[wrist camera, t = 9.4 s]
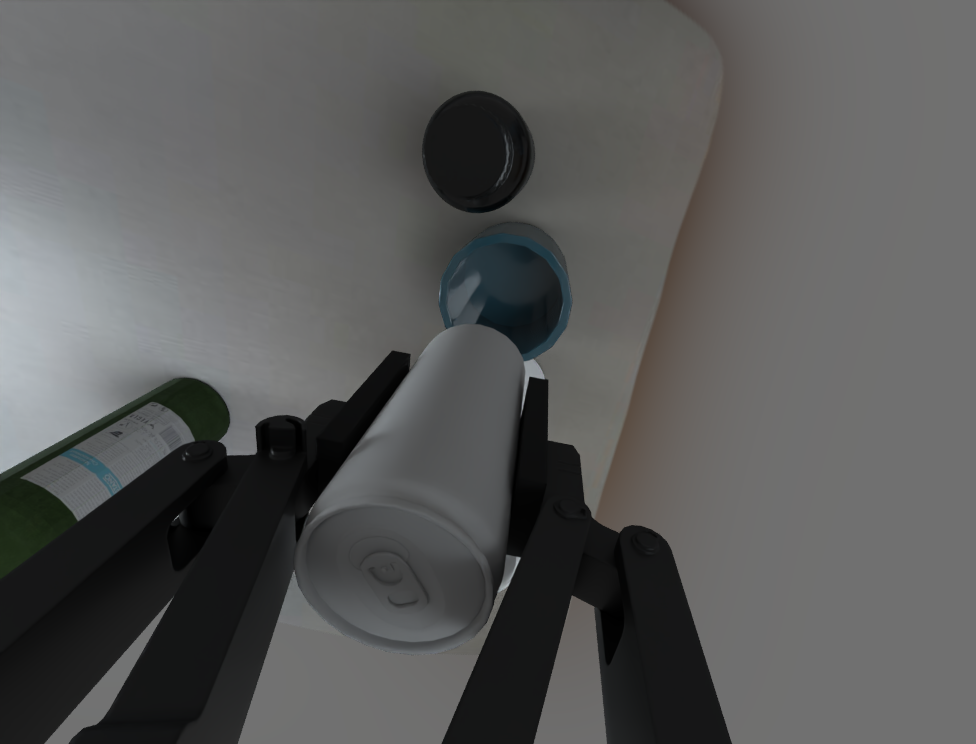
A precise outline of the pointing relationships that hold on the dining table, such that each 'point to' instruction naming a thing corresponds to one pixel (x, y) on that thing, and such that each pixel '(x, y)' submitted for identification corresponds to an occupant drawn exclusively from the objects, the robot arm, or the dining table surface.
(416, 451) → the beverage can
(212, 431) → the wine bottle
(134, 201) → the dining table surface
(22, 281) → the dining table surface
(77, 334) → the dining table surface
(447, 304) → the cup
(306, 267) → the dining table surface
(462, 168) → the supplement bottle
